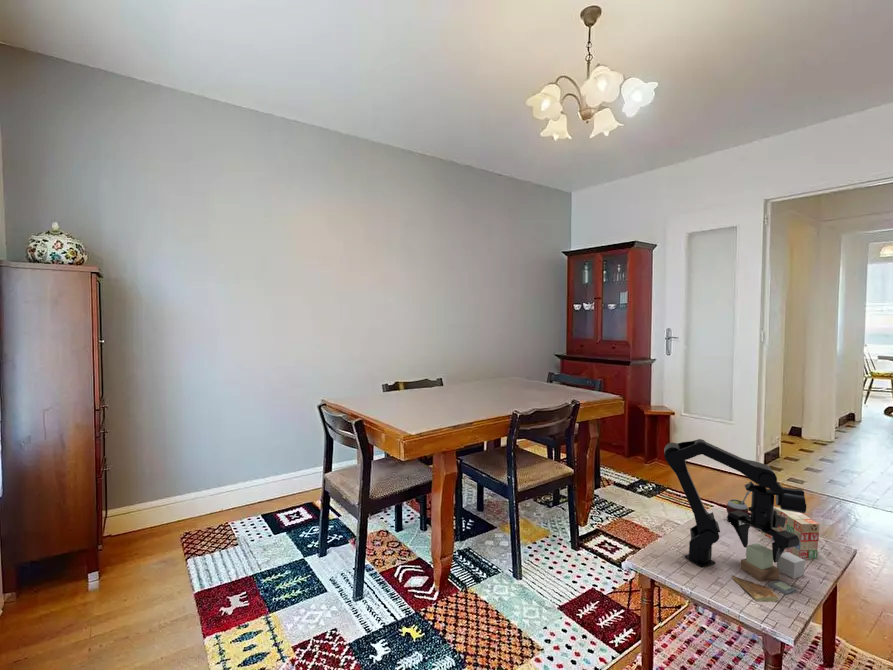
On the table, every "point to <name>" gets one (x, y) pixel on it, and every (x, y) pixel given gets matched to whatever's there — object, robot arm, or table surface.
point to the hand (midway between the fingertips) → (760, 554)
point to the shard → (757, 590)
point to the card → (782, 587)
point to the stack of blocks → (800, 532)
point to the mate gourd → (737, 505)
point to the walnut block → (760, 571)
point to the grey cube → (791, 565)
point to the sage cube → (759, 556)
